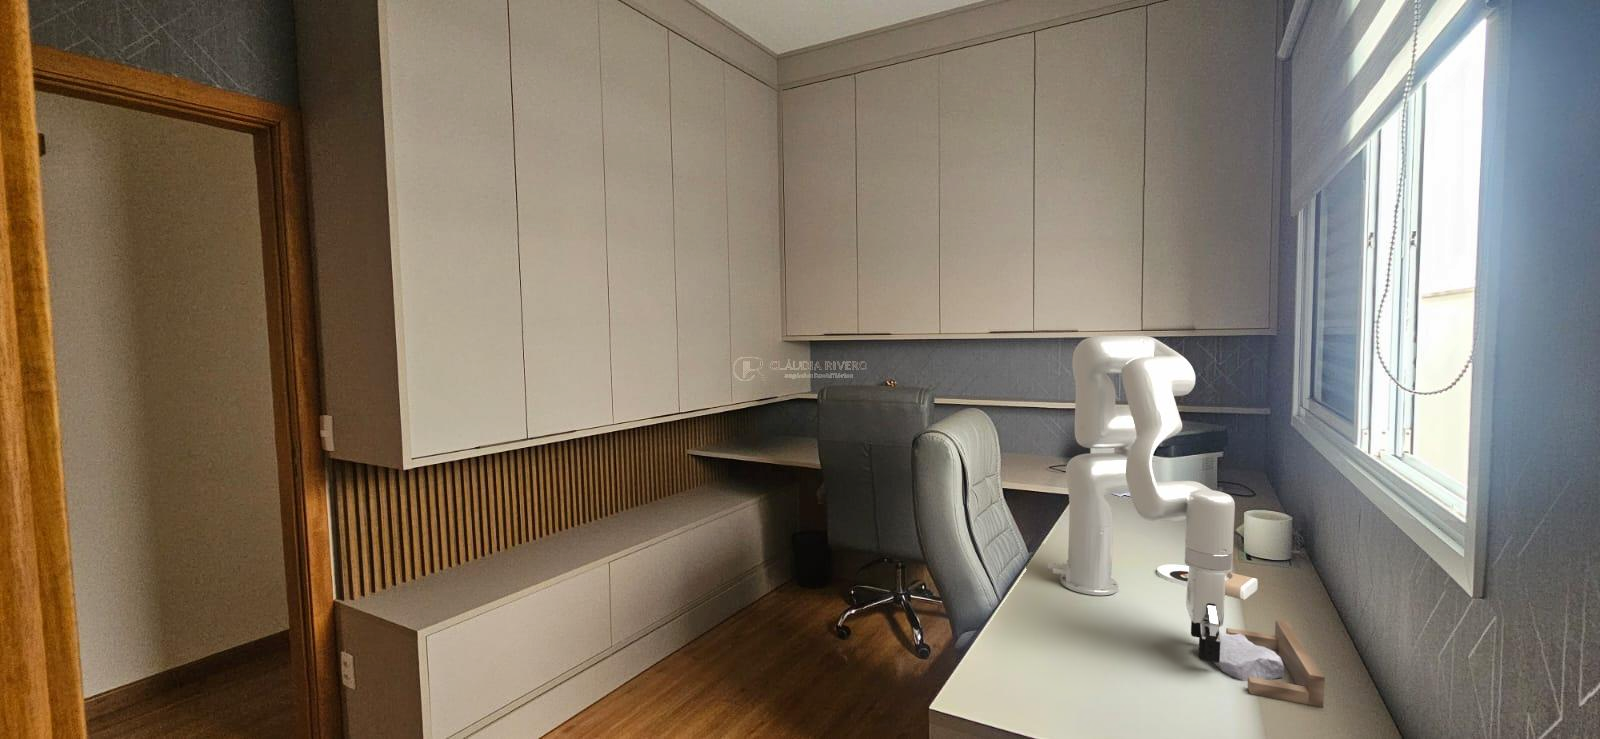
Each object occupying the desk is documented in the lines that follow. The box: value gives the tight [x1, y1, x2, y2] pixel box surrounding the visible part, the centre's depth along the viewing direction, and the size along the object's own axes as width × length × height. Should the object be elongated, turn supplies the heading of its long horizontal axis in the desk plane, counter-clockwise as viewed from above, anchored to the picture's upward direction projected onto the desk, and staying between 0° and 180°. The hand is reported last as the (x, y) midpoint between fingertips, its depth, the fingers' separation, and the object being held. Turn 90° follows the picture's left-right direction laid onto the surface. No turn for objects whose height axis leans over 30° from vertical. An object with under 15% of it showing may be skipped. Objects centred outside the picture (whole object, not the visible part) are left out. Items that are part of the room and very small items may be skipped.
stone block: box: [1213, 632, 1285, 682], centre depth 122 cm, size 12×5×10 cm
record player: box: [1156, 564, 1259, 601], centre depth 161 cm, size 12×3×20 cm
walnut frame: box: [1225, 620, 1326, 708], centre depth 120 cm, size 10×22×5 cm, turn 156°
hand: (1204, 648), depth 124 cm, fingers open, 9 cm apart
